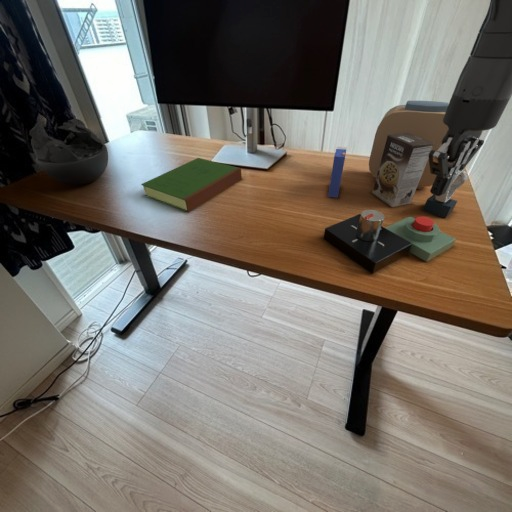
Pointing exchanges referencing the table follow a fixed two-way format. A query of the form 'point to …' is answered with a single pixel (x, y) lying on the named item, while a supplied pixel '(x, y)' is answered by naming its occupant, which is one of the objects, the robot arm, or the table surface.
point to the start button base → (422, 239)
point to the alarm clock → (411, 131)
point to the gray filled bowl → (70, 153)
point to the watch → (445, 197)
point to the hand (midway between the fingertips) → (436, 193)
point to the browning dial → (369, 225)
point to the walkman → (337, 171)
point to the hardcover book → (192, 183)
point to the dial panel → (367, 245)
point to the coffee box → (401, 168)
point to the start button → (423, 224)
